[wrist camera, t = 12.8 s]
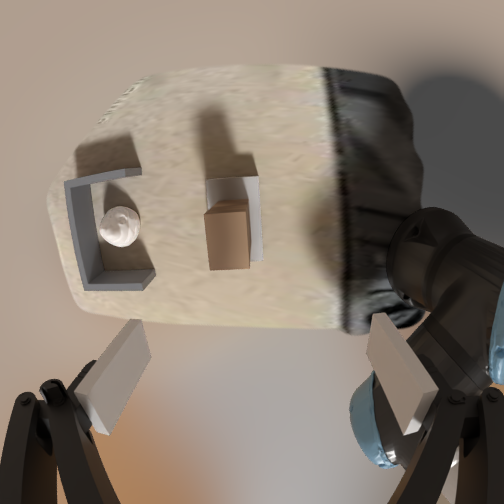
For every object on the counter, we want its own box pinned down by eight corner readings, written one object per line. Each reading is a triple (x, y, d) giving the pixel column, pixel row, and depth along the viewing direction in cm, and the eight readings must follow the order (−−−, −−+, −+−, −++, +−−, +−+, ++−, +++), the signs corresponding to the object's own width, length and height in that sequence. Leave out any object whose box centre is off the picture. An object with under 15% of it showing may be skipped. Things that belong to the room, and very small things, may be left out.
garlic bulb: (128, 223, 30) (117, 264, 31) (147, 214, 36) (135, 249, 37) (91, 206, 29) (82, 246, 31) (114, 199, 35) (104, 234, 37)
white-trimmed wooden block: (258, 175, 34) (258, 180, 23) (262, 253, 37) (265, 293, 26) (209, 178, 34) (186, 186, 23) (217, 255, 37) (199, 296, 26)
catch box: (141, 167, 34) (124, 168, 29) (155, 275, 38) (143, 290, 33) (84, 178, 34) (63, 181, 29) (100, 277, 38) (84, 290, 34)
